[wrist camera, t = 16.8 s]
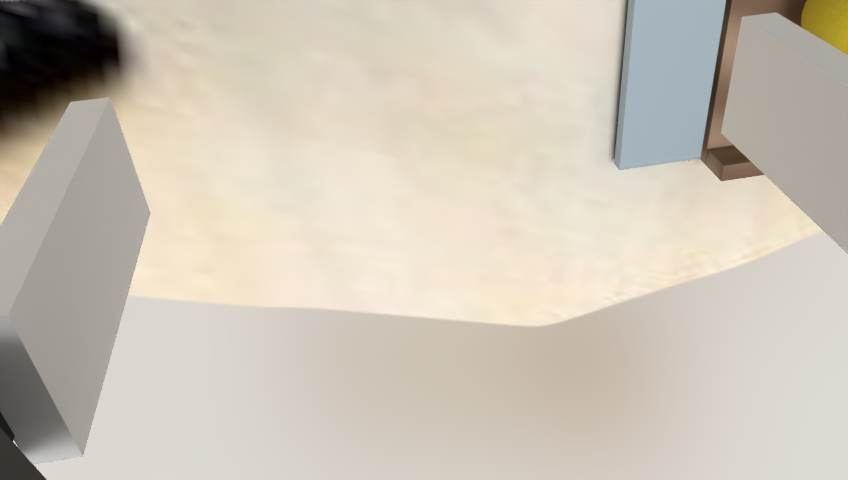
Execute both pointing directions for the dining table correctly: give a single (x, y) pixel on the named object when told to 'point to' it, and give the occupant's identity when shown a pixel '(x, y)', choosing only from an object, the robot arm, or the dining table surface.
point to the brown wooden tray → (716, 145)
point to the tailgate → (666, 80)
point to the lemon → (827, 21)
